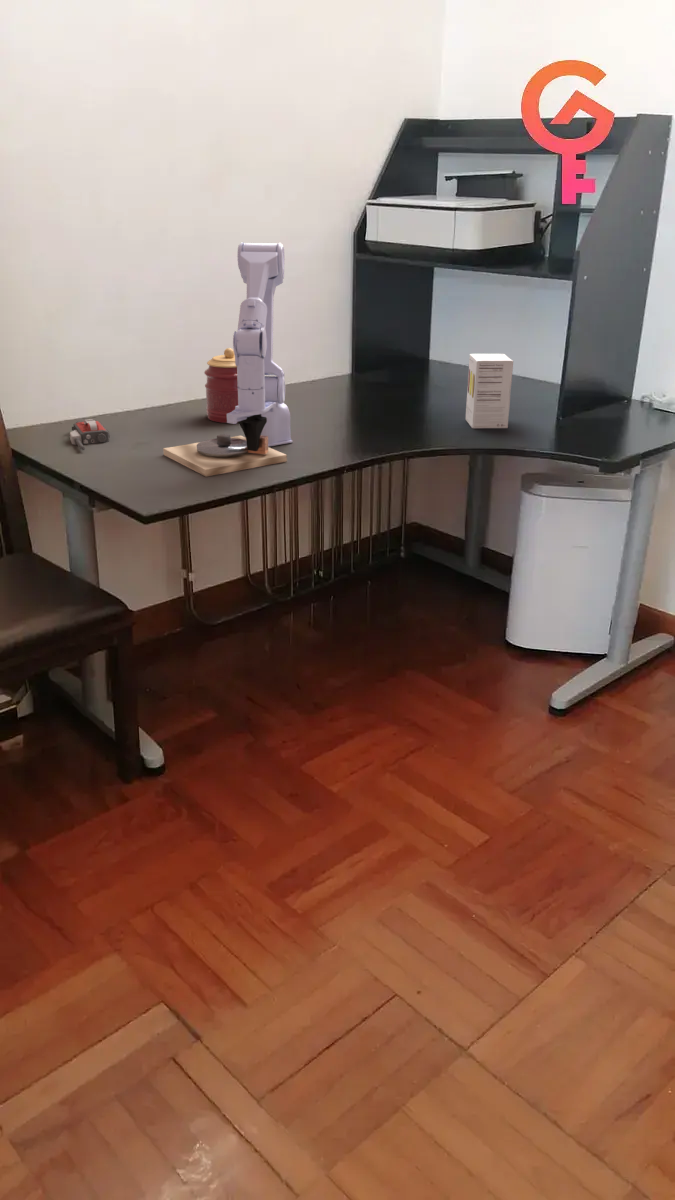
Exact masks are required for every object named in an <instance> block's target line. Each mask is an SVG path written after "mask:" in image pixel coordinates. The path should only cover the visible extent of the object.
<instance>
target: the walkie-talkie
mask: <svg viewBox="0 0 675 1200" xmlns="http://www.w3.org/2000/svg"><path fill="white" fill-rule="evenodd" d="M110 436H111V435H110V432H109V430H108V429H107V428H106V427H105V426H104V424H103V423H102V422H101V421H99V420H97V419H93V418H89V419H83V420H80V421H79V420H78V421H76V422H74V423H73V426H71V431H69V438H70V439H69V440H70V442H71V444H72V445H75V446H76V445H77V447H78V448H79V449H80V450H82V451H85V449H86V448H85V446H84V445H87V444H90V445H91V444H96V443H97V444H98V443H100V444H101V443H108V442H110Z"/></svg>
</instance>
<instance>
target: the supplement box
mask: <svg viewBox="0 0 675 1200" xmlns="http://www.w3.org/2000/svg"><path fill="white" fill-rule="evenodd" d="M468 362H469V363H468V375H467V388H466V389H467V392H466V406H465V421H466V422H467V423H468V425H469V426H470V427H471V429H508V427H509V417H510V416H509V414H510V406H511V405H510V404H511V391H512V389H511V388H512V381H513V369H514V360H513V359H511V358H510V357H509V356H508V355H506V354H505V353H469V358H468Z"/></svg>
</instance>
